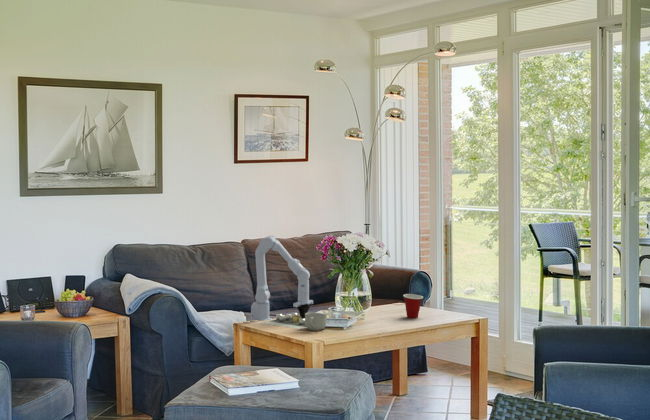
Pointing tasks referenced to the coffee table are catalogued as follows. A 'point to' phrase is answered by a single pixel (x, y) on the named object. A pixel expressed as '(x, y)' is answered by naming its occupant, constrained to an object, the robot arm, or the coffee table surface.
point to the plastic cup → (412, 305)
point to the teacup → (315, 321)
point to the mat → (285, 324)
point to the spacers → (289, 318)
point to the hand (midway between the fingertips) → (303, 319)
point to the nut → (295, 318)
